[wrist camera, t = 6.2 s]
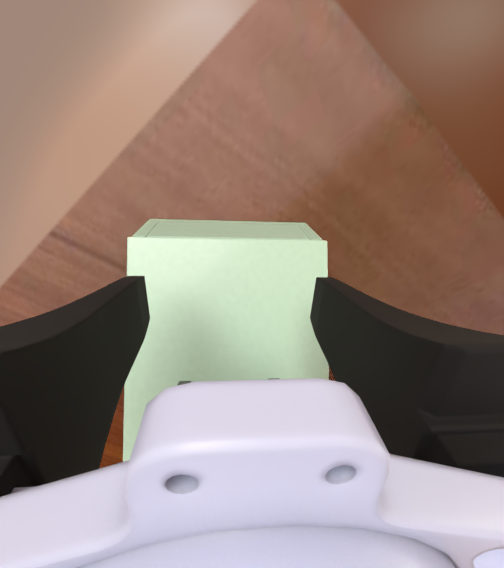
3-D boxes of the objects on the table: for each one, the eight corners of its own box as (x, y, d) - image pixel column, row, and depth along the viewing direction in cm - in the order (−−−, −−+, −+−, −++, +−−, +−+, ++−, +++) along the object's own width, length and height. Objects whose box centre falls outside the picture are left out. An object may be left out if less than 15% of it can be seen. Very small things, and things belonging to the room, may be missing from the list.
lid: (325, 462, 17) (366, 530, 12) (127, 473, 16) (82, 554, 11) (323, 242, 18) (361, 221, 13) (131, 239, 16) (91, 214, 12)
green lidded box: (288, 352, 27) (299, 386, 23) (165, 354, 26) (154, 391, 22) (305, 222, 21) (323, 239, 18) (149, 218, 20) (131, 235, 16)
